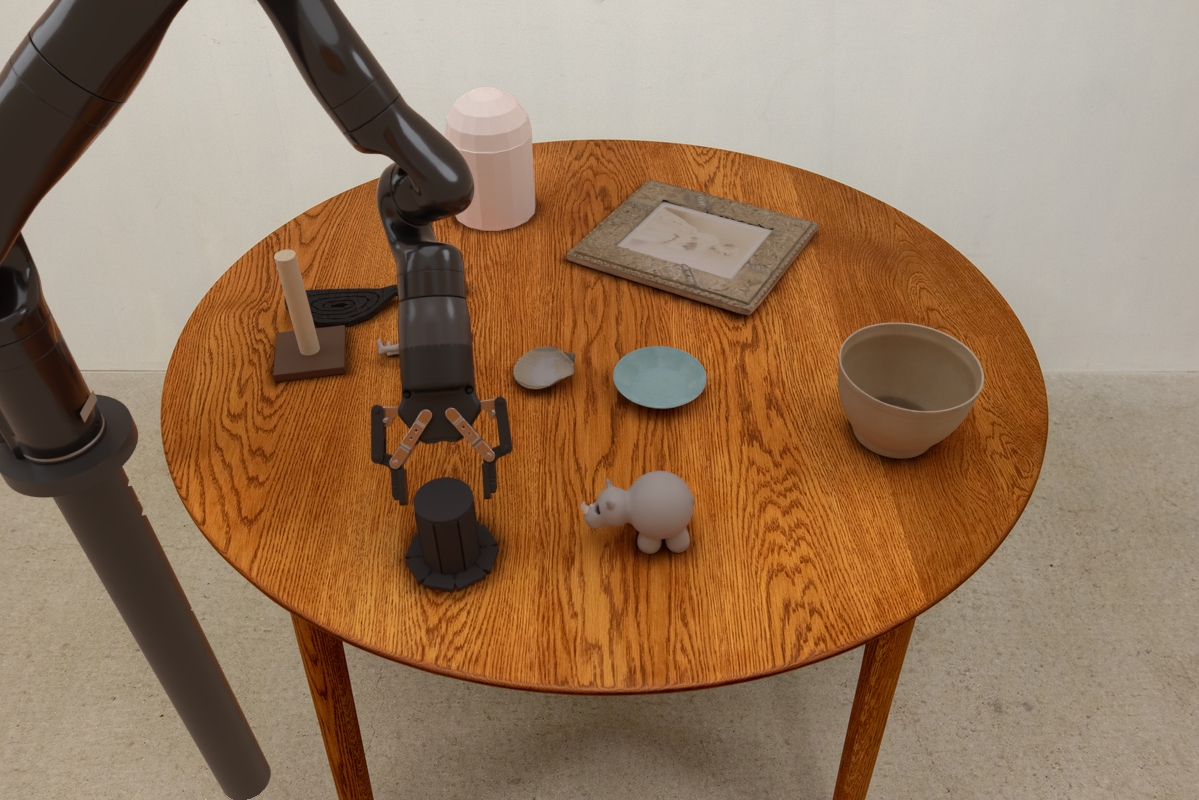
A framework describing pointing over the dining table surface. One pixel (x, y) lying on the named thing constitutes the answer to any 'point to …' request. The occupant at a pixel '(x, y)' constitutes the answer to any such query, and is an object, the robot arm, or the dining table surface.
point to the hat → (449, 537)
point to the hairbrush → (347, 304)
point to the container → (494, 157)
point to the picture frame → (696, 245)
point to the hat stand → (304, 332)
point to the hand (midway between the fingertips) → (446, 502)
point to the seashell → (543, 367)
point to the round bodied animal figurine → (647, 510)
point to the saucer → (659, 377)
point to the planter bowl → (906, 386)
